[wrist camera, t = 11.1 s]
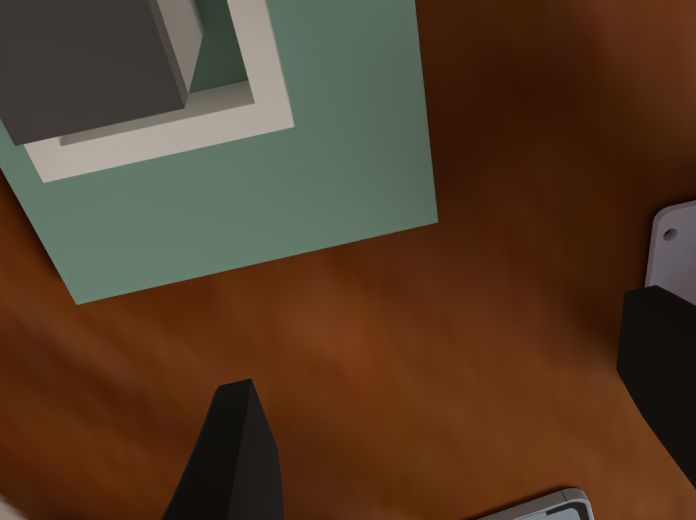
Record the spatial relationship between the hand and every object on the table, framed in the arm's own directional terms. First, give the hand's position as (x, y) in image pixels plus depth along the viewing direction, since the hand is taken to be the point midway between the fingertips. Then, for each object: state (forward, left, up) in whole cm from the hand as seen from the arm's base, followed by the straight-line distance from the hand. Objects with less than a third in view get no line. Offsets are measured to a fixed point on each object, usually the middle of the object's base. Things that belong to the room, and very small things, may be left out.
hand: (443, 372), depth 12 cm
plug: (+7, +5, -8) cm, 12 cm away
